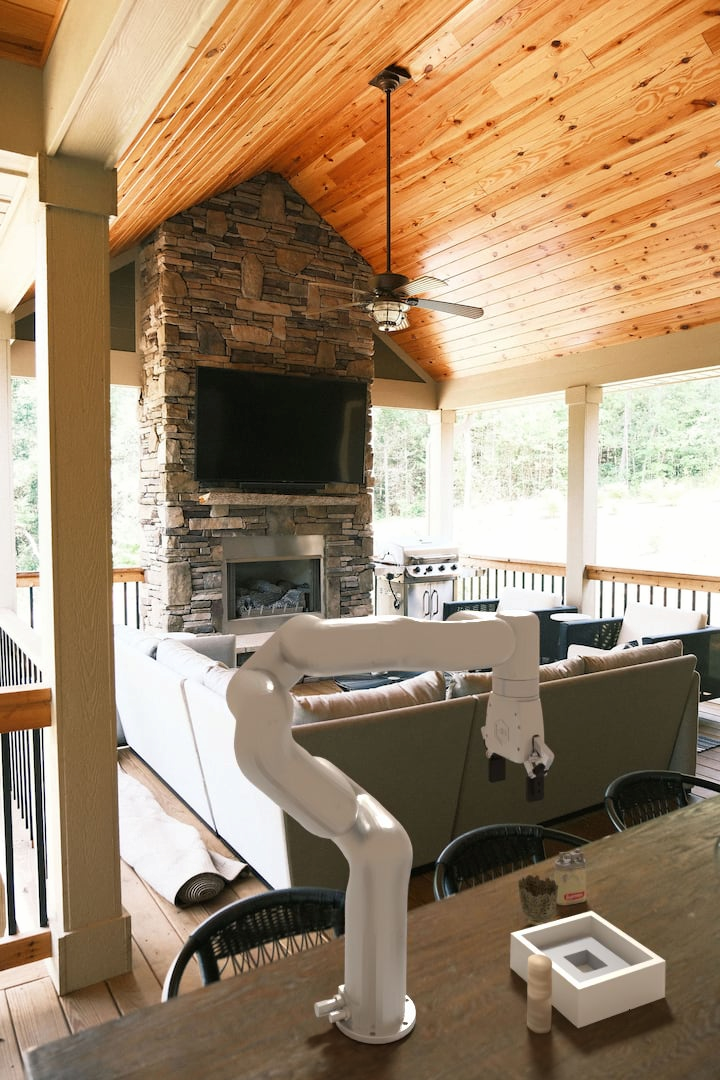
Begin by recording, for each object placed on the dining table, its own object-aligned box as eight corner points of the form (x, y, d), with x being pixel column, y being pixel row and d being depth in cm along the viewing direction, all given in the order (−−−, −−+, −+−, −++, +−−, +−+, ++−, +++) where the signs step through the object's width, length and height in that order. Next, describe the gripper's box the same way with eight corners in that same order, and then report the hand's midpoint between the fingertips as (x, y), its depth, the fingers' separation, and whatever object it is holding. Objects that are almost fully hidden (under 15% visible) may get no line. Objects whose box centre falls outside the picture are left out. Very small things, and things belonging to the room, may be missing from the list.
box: (578, 1028, 114) (578, 989, 114) (510, 967, 130) (510, 933, 129) (664, 997, 122) (665, 960, 122) (591, 943, 137) (591, 910, 137)
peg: (536, 1036, 112) (538, 970, 112) (522, 1021, 116) (523, 957, 115) (556, 1029, 114) (557, 964, 114) (540, 1015, 117) (541, 952, 117)
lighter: (559, 907, 150) (560, 857, 150) (548, 898, 153) (549, 849, 153) (589, 901, 152) (590, 852, 152) (578, 892, 156) (579, 845, 156)
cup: (512, 929, 142) (513, 887, 142) (523, 911, 148) (524, 871, 148) (552, 939, 138) (553, 896, 138) (561, 920, 145) (562, 880, 145)
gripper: (465, 678, 129) (465, 777, 129) (532, 701, 113) (531, 813, 114) (501, 674, 132) (501, 771, 133) (570, 695, 117) (569, 804, 117)
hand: (515, 790), depth 123 cm, fingers open, 9 cm apart
